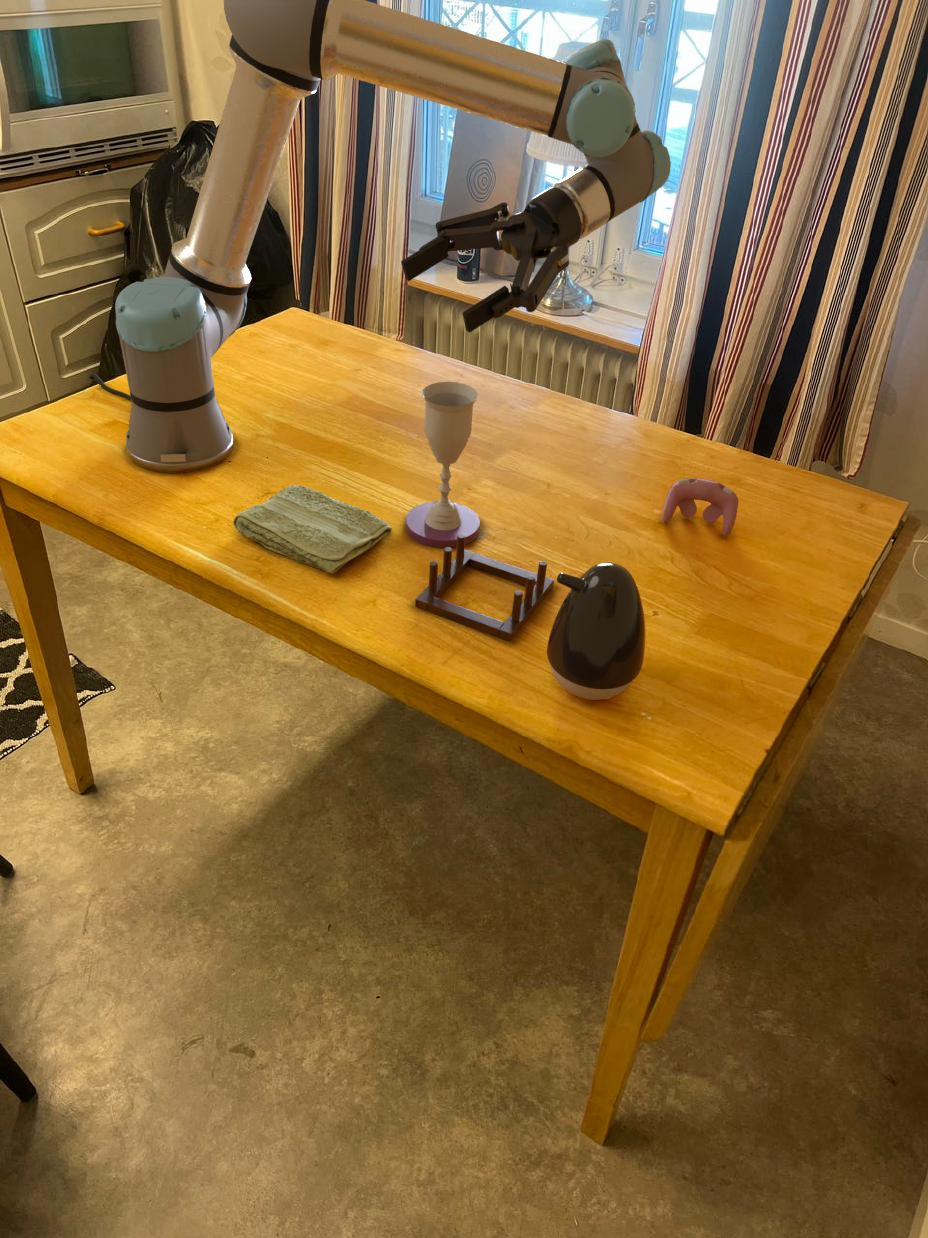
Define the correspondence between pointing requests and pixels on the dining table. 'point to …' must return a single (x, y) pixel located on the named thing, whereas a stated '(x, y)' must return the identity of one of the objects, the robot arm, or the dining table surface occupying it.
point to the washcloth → (311, 527)
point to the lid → (441, 538)
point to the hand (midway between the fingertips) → (434, 296)
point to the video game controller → (704, 490)
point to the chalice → (447, 441)
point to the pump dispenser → (598, 633)
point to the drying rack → (534, 582)
